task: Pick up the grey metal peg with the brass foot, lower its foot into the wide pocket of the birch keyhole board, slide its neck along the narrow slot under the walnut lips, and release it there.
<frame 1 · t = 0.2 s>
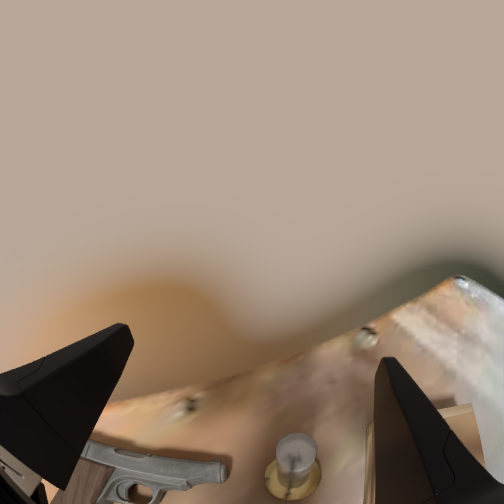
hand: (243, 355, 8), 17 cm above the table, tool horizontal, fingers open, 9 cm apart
peg: (292, 478, 16), on the table
keyhole board: (420, 500, 11), on the table
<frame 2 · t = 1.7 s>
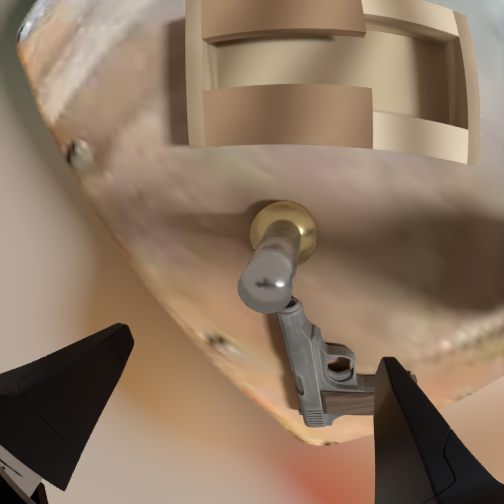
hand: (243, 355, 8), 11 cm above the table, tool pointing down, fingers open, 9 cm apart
peg: (284, 232, 19), on the table
handgun: (355, 356, 23), on the table
keyhole board: (329, 68, 13), on the table
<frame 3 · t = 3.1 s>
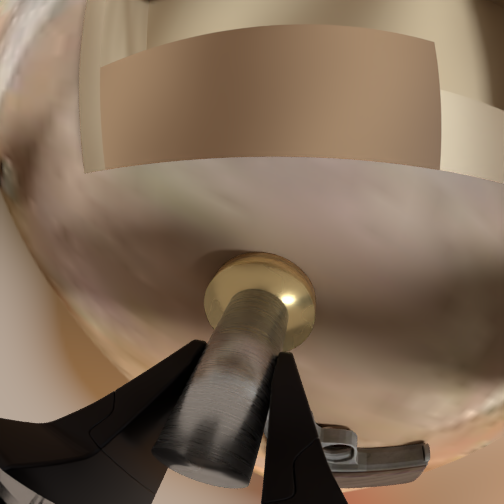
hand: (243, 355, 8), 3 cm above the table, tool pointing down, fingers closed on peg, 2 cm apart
peg: (262, 300, 11), on the table, touching gripper
handgun: (357, 431, 15), on the table
keyhole board: (339, 17, 6), on the table
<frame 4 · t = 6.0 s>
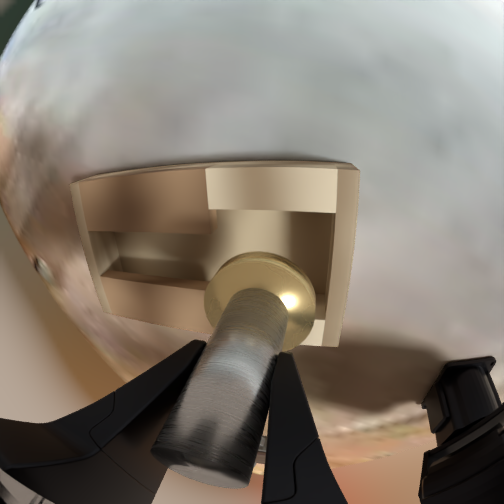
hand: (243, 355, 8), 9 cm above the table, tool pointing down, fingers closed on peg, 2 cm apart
peg: (262, 299, 11), point 6 cm above the table, touching gripper
keyhole board: (201, 241, 17), on the table
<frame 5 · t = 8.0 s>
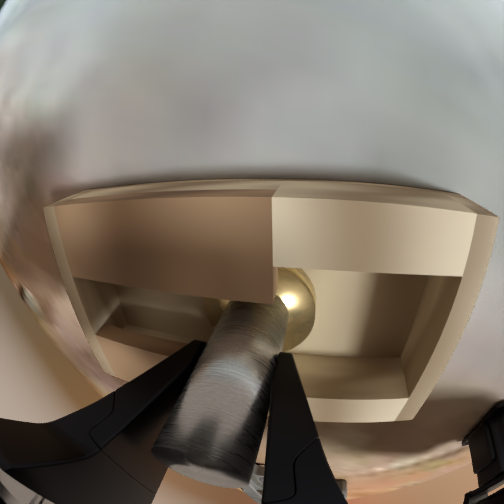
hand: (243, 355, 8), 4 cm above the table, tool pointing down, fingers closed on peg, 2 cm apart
peg: (262, 299, 11), point 1 cm above the table, touching gripper
handgun: (289, 468, 21), on the table
keyhole board: (239, 293, 12), on the table
when the fingers open (4 cm above the table, at t = 9.1 s): peg stays where it is, resting on keyhole board.
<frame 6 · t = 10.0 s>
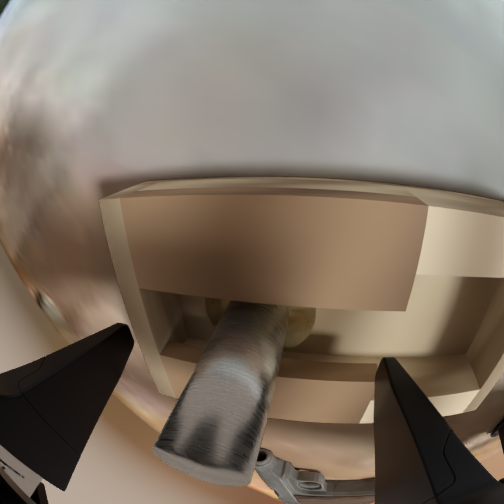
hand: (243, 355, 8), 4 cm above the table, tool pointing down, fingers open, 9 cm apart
peg: (263, 298, 11), resting on keyhole board
handgun: (326, 470, 20), on the table
keyhole board: (334, 300, 11), on the table
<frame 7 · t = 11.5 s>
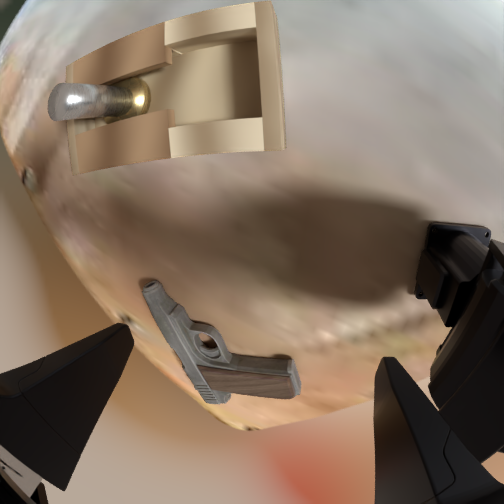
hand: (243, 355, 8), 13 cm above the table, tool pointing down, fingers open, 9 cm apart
peg: (128, 102, 18), resting on keyhole board
handgun: (229, 336, 27), on the table
keyhole board: (162, 94, 17), on the table
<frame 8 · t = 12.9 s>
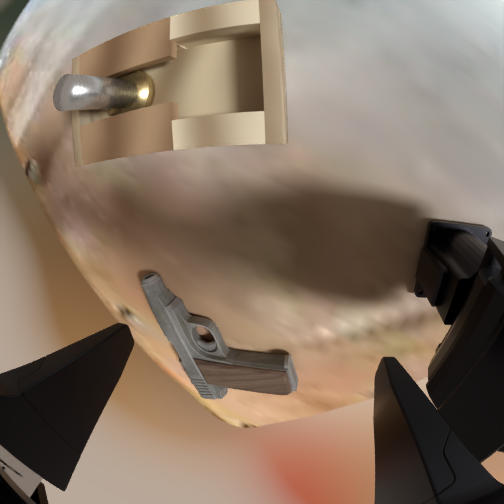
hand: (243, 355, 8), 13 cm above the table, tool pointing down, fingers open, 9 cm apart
peg: (133, 95, 18), resting on keyhole board
handgun: (226, 330, 27), on the table
keyhole board: (166, 88, 17), on the table
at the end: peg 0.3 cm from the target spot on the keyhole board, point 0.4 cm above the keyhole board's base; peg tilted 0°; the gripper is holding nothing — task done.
